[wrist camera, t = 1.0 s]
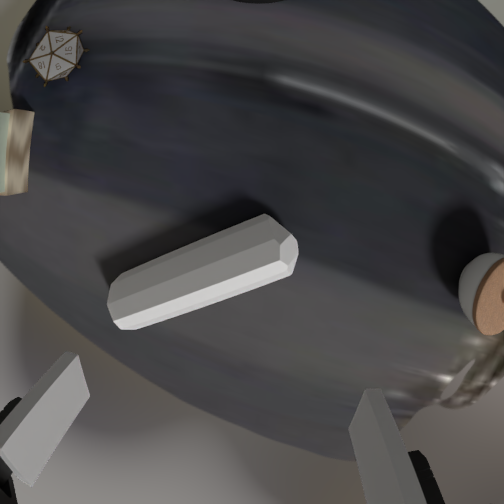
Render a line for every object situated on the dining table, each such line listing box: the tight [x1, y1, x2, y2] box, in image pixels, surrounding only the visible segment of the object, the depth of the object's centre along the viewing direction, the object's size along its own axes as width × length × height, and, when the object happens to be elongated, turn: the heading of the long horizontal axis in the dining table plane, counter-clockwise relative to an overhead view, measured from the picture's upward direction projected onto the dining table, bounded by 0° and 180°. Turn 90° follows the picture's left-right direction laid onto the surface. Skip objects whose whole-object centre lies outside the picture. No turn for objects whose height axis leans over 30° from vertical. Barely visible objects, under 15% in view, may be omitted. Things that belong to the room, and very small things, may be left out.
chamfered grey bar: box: [107, 214, 298, 330], centre depth 33 cm, size 7×7×24 cm
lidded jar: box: [458, 253, 504, 335], centre depth 30 cm, size 11×11×9 cm
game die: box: [23, 26, 89, 87], centre depth 25 cm, size 9×8×10 cm
